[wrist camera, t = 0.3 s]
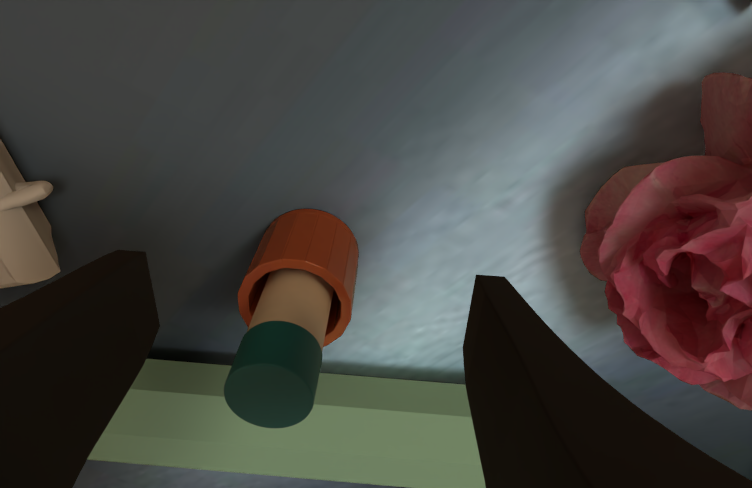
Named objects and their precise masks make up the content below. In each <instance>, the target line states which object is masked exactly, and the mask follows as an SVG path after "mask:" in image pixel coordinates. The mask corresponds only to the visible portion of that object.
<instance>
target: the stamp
mask: <svg viewBox="0 0 752 488" xmlns="http://www.w3.org/2000/svg"><path fill="white" fill-rule="evenodd" d="M52 191H53V186H52V184H51V183H49V182H47V181H34V182H25V180H24V179H23V177H22V175H21V173H20V172H19V170H18V168H17V167H16V165H15V163H14V161H13V160H12V158H11V156H10V154H9V153H8V151H7V149H6V148H5V146H4V144H3V142H2V141H1V139H0V288H7V287H13V286H20V285H26V284H32V283H37V282H40V281H43V280H47V279H50V278H51V277H53V276H54V275H56V274H57V273H59V272H61V271H60V267H59V265H58V256H57V253H56V249H55V246H54V242H53V239H52V235H51V225H50V224H49V222H48V220H47V218H46V217H45V215H44V213H43V211H42V210H41V208H40V206H39V205H38V203H37V201H39V200H42V199H44V198H46V197H47V196H48V195H49V194H51V192H52Z"/></svg>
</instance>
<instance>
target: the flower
mask: <svg viewBox="0 0 752 488" xmlns="http://www.w3.org/2000/svg"><path fill="white" fill-rule="evenodd" d="M700 123H701V125H702V127H703V129H704V143H705V156H704V155H703V156H686V157H680V158H677V159H673V160H670V161H666V162H665V163H651V164H642V165H635V166H627V167H624V168H622V169H621V170H619V171H618V172H617V173H615V174H614V175H613V176H612V177H611V178H610V179H609V180H608V181H607V182H606V183H605V184H604V185H603V186H602V187H601V188H600V190H599V191H598V193H597V194H596V195H595V197H594V198H593V200H592V201H591V203H590V204H589V206H588V207H587V209H586V210H585V222H586V229H587V232H586V234H585V235H584V237H583V241H582V245H581V248H580V255H581V258H582V261H583V263H584V265H585V266H586V268H587V270H588V271H589V273H590V274H592V275H593V276H595V277H596V278H598V279H599V280H603V281H607V283H606V288H605V294H606V297H607V300H608V308H609V309H610V310H611V311H613V312H614V313H615V314H617V324H618V325H619V326H620V327H621V329H622V332H623V335H624V343H626V344H627V345H628V346H629V347H630V348H631V349H632V350H633V351H634V353H635V354H636V355H637V356H640V357H643V358H645V359H648V360H651V361H653V362H655V363H656V364H658V365H660V366H661V367H663V368H664V369H666V370H667V371H669V372H670V373H671V374H673V375H674V376H676V377H677V378H678V379H679V380H681V381H684V382H686V383H688V384H691V385H695V384H699V385H700V386H701V387H702V388H703V389H704V390H705V391H707V392H709V393H711V394H713V395H715V396H718V397H720V398H722V399H724V400H726V401H728V402H730V403H731V404H733V405H735V406H736V407H738V408H740V409H748V410H752V78H747V77H744V76H742V75H739V74H734V73H725V72H722V73H712V74H709V75H707V76H705V77H704V79H703V81H702V102H701V119H700Z"/></svg>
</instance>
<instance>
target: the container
mask: <svg viewBox="0 0 752 488" xmlns="http://www.w3.org/2000/svg"><path fill="white" fill-rule="evenodd" d="M230 369H231V366H229V365H217V364H205V363H193V362H180V361H168V360H156V359H146V360H145V363H144V365H143V367H142V369H141V370H140V372H139V374H138V375H137V377H136V379H135V380H134V382H133V384H132V386H131V387H130V389H129V391H128V392H127V394H126V396H125V397H124V399H123V401H122V402H121V404H120V405H119V407H118V409H117V410H116V412H115V414H114V415H113V417H112V419H111V420H110V422H109V423H108V425H107V427H106V428H105V430H104V432H103V433H102V435H101V437H100V438H99V440H98V442H97V443H96V445H95V446H94V448H93V450H92V451H91V453H90V455H89V457H88V458H87V460H99V461H110V462H122V463H133V464H145V465H156V466H168V467H179V468H191V469H202V470H214V471H225V472H237V473H248V474H260V475H271V476H283V477H295V478H306V479H318V480H329V481H341V482H352V483H364V484H375V485H387V486H398V487H410V488H486V486H485V480H484V475H483V470H482V465H481V461H480V456H479V451H478V446H477V441H476V436H475V431H474V427H473V422H472V417H471V412H470V407H469V402H468V397H467V391H466V385H463V384H451V383H438V382H426V381H414V380H402V379H389V378H377V377H365V376H352V375H340V374H328V373H319V379H318V384H317V389H316V395H315V400H314V405H313V408H312V410H311V412H310V414H309V415H308V416H307V417H306V418H305V419H304V420H303V421H301V422H300V423H298V424H296V425H293V426H290V427H286V428H264V427H259V426H256V425H253V424H251V423H248V422H246V421H244V420H243V419H241V418H240V417H238V416H237V415H236V414H235V413H234V412H233V411H232V410H231V409H230V408H229V406H228V405H227V403H226V400H225V397H224V384H225V381H226V379H227V376H228V374H229V371H230Z"/></svg>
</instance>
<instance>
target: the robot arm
mask: <svg viewBox="0 0 752 488" xmlns="http://www.w3.org/2000/svg"><path fill="white" fill-rule="evenodd" d="M159 327H160V324H159V319H158V314H157V308H156V303H155V298H154V293H153V288H152V283H151V278H150V273H149V268H148V262H147V257H146V252H140V251H125V250H117V251H114V252H112V253H109V254H107V255H105V256H103V257H101V258H98V259H96V260H94V261H92V262H90V263H88V264H86V265H85V266H83V267H81V268H79V269H77V270H75V271H73V272H71V273H69V274H67V275H65V276H63V277H62V278H60V279H58V280H56V281H54V282H52V283H50V284H48V285H46V286H44V287H42V288H40V289H38V290H36V291H35V292H33V293H31V294H29V295H27V296H25V297H23V298H21V299H19V300H16V301H14V302H12V303H10V304H8V305H6V306H4V307H2V308H0V488H72V487H73V485H74V483H75V481H76V479H77V477H78V475H79V473H80V471H81V469H82V467H83V466H84V464H85V462H86V460H87V458H88V457H89V455H90V453H91V451H92V450H93V448H94V446H95V445H96V443H97V442H98V440H99V438H100V437H101V435H102V433H103V432H104V430H105V428H106V427H107V425H108V423H109V422H110V420H111V419H112V417H113V415H114V414H115V412H116V410H117V409H118V407H119V405H120V404H121V402H122V401H123V399H124V397H125V396H126V394H127V392H128V391H129V389H130V387H131V386H132V384H133V382H134V380H135V379H136V377H137V375H138V374H139V372H140V370H141V369H142V367H143V365H144V363H145V360H146V358H147V356H148V354H149V351H150V349H151V347H152V344H153V342H154V339H155V337H156V334H157V332H158V329H159ZM463 356H464V371H465V383H466V391H467V397H468V402H469V407H470V412H471V417H472V422H473V427H474V431H475V436H476V441H477V446H478V451H479V456H480V461H481V465H482V470H483V475H484V480H485V486H486V488H752V481H751V480H749V479H747V478H745V477H744V476H742V475H740V474H739V473H737V472H735V471H734V470H732V469H730V468H729V467H727V466H725V465H724V464H722V463H720V462H719V461H717V460H715V459H713V458H712V457H710V456H709V455H707V454H705V453H704V452H702V451H701V450H699V449H698V448H696V447H694V446H693V445H691V444H690V443H688V442H687V441H685V440H684V439H682V438H681V437H679V436H678V435H676V434H675V433H673V432H672V431H671V430H669V429H668V428H666V427H665V426H663V425H662V424H660V423H659V422H658V421H656V420H655V419H653V418H652V417H650V416H649V415H648V414H646V413H645V412H644V411H642V410H641V409H640V408H638V407H637V406H636V405H634V404H633V403H632V402H630V401H629V400H628V399H627V398H625V397H624V396H623V395H622V394H620V393H619V392H618V391H617V390H616V389H614V388H613V387H612V386H611V385H609V384H608V383H607V382H606V381H604V380H603V379H602V378H601V377H600V376H599V375H598V374H596V373H595V372H594V371H593V370H592V369H591V368H590V367H589V366H588V365H587V364H585V363H584V362H583V361H582V360H581V359H580V358H579V357H578V356H577V355H576V354H575V353H574V352H573V351H572V350H571V349H570V348H569V347H568V346H567V345H566V344H565V343H564V342H563V341H562V340H561V339H560V338H559V337H558V336H557V335H556V334H555V333H554V332H553V331H552V330H551V329H550V328H549V327H548V326H547V325H546V324H545V322H544V321H543V320H542V319H541V318H540V317H539V316H538V315H537V314H536V313H535V311H534V310H533V309H532V308H531V307H530V306H529V305H528V303H527V302H526V301H525V300H524V299H523V298H522V296H521V295H520V294H519V293H518V292H517V291H516V289H515V288H514V287H513V286H512V285H511V284H510V283H509V281H508V280H507V279H506V278H505V277H499V276H485V275H476V278H475V284H474V289H473V295H472V300H471V306H470V311H469V317H468V322H467V328H466V333H465V339H464V344H463Z"/></svg>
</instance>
